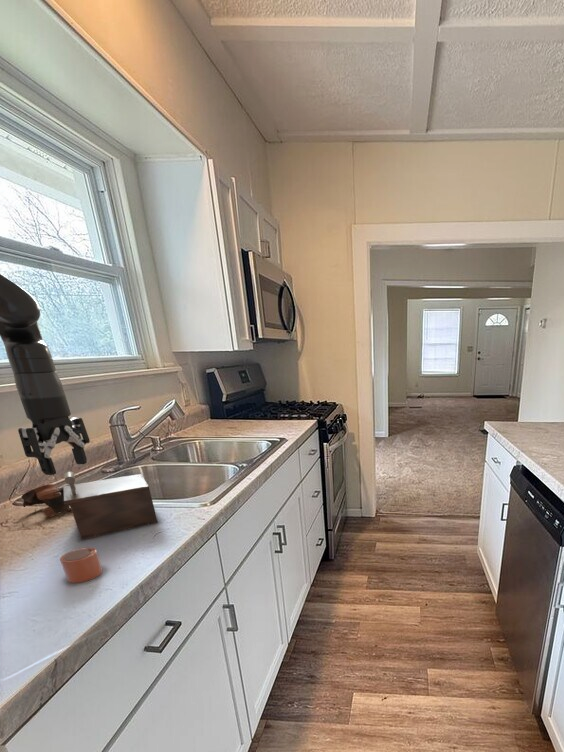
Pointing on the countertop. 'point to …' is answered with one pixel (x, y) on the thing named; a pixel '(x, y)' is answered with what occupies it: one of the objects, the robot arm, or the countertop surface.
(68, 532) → the countertop surface
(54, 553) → the countertop surface
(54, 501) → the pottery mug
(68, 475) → the lid
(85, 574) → the small terracotta bowl
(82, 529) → the chest
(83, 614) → the countertop surface
